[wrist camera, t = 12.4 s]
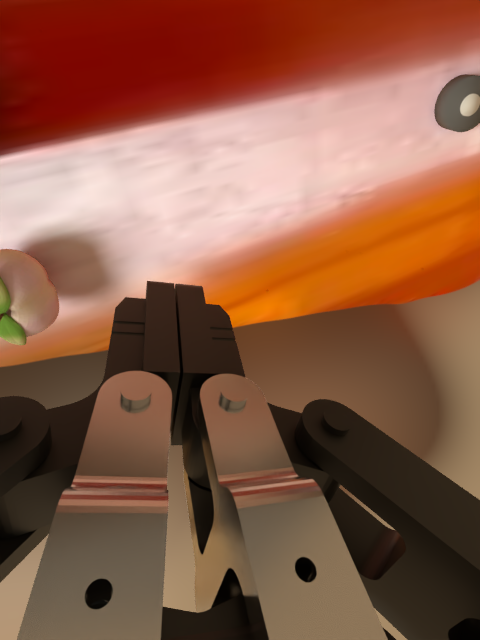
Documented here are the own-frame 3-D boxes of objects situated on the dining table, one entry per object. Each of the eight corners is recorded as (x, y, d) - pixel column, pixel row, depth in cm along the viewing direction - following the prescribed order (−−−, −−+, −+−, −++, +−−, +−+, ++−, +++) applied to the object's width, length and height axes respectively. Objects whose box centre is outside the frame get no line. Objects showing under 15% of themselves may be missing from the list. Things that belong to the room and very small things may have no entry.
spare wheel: (439, 79, 38) (452, 80, 36) (485, 70, 38) (500, 71, 36) (430, 132, 41) (442, 136, 39) (473, 124, 41) (487, 127, 40)
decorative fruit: (-37, 241, 39) (-87, 291, 31) (41, 226, 40) (12, 270, 32) (9, 312, 45) (-23, 370, 37) (77, 298, 45) (60, 351, 37)
